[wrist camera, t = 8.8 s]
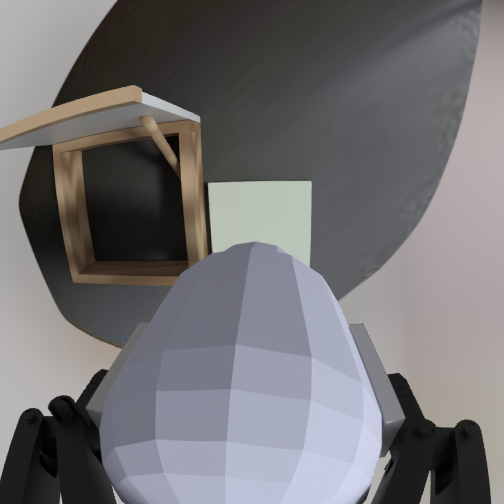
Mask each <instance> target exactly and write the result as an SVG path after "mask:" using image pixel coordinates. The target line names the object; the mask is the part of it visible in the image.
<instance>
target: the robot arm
mask: <svg viewBox="0 0 504 504" xmlns="http://www.w3.org/2000/svg"><path fill="white" fill-rule="evenodd" d="M148 325H149V323H139V325H138V326H137V328H136V329H135V331H134V332H133V334H132V335H131V337H130V338H129V340H128V341H127V343H126V344H125V346H124V347H123V349H122V350H121V352H120V354H119V355H118V357H117V358H116V360H115V361H114V363H113V364H112V366H111V368H110V369H109V370H105V369H101V370H100V371H99V372H97V373H96V374H95V375H94V376H93V377H92V379H91V380H90V383H89V384H88V385H87V386H86V389H85V390H84V391H83V393H82V394H81V396H80V397H79V399H78V400H77V402H76V403H75V401H74V400H73V399H72V398H71V397H69V396H64V395H62V396H58V397H56V398H54V399H53V400H52V401H51V402H50V403H49V406H48V409H49V411H50V412H51V414H52V415H53V416H44V415H43V414H42V412H41V411H40V410H39V409H36V408H30V409H27V410H25V411H24V412H23V413H22V415H21V416H20V419H19V421H18V424H17V427H16V430H15V432H14V436H13V438H12V441H11V444H10V448H9V451H8V454H7V457H6V461H5V464H4V468H3V472H2V476H1V480H0V504H59V502H60V493H61V497H62V503H63V504H117V503H116V500H115V496H114V493H113V489H112V485H111V482H110V480H109V478H108V475H107V473H106V471H105V468H104V466H103V463H102V455H101V445H100V433H99V429H100V423H101V418H102V413H103V407H104V402H105V399H106V397H107V395H108V393H109V392H110V390H111V388H112V386H113V384H114V382H115V380H116V378H117V376H118V374H119V373H120V371H121V369H122V367H123V366H124V364H125V362H126V361H127V359H128V357H129V356H130V354H131V352H132V351H133V349H134V347H135V346H136V344H137V342H138V341H139V339H140V337H141V336H142V334H143V333H144V331H145V329H146V328H147V326H148ZM349 330H350V332H351V335H352V337H353V340H354V342H355V345H356V347H357V350H358V352H359V355H360V357H361V360H362V363H363V365H364V368H365V370H366V373H367V376H368V378H369V381H370V384H371V387H372V389H373V392H374V395H375V398H376V400H377V403H378V406H379V409H380V412H381V415H382V447H381V451H380V455H379V458H380V457H385V456H386V454H387V453H388V451H389V450H390V454H391V459H390V460H389V462H388V464H387V465H386V467H385V468H384V469H385V473H384V475H383V478H382V480H381V483H380V485H379V487H378V490H377V492H376V494H375V496H374V498H373V500H372V503H371V504H419V503H420V500H421V497H422V494H423V491H424V487H425V484H426V481H427V477H428V473H429V471H431V493H430V495H431V496H430V504H491V496H490V484H489V475H488V468H487V461H486V454H485V448H484V443H483V438H482V433H481V429H480V427H479V425H478V424H477V423H476V422H474V421H472V420H462V421H460V422H459V423H457V425H456V426H455V428H442V427H436V425H435V424H434V423H433V422H432V421H430V420H427V419H425V418H424V416H423V414H422V411H421V409H420V407H419V405H418V403H417V401H416V399H415V397H414V395H413V393H412V390H411V389H410V386H409V384H408V382H407V380H406V379H405V378H404V377H403V376H402V375H400V374H399V373H395V374H386V371H385V369H384V367H383V365H382V362H381V360H380V358H379V356H378V354H377V352H376V350H375V348H374V345H373V343H372V341H371V339H370V337H369V335H368V333H367V330H366V329H365V326H364V324H363V323H361V324H349Z"/></svg>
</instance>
